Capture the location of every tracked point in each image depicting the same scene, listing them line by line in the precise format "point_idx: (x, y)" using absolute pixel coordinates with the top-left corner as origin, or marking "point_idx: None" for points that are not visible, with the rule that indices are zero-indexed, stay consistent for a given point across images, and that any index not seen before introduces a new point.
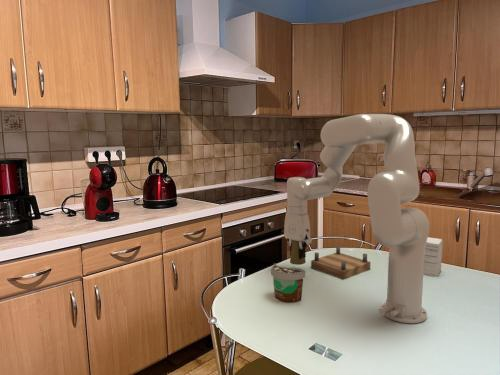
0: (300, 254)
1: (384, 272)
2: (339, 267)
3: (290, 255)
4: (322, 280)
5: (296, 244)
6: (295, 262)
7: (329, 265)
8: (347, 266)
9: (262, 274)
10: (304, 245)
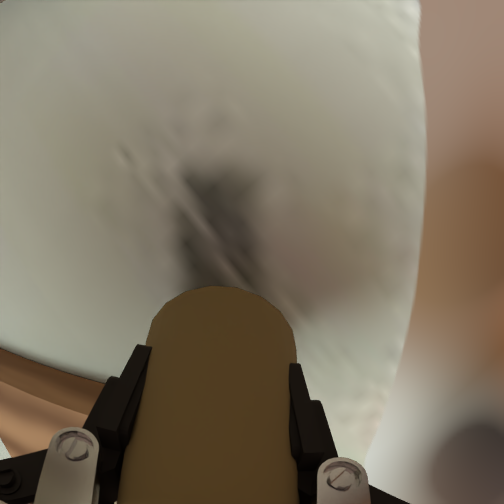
0: (123, 382)
1: (8, 455)
2: (10, 404)
3: (294, 364)
4: (15, 271)
5: (147, 490)
6: (186, 301)
7: (50, 412)
8: (11, 428)
9: (380, 72)
10: (18, 466)
